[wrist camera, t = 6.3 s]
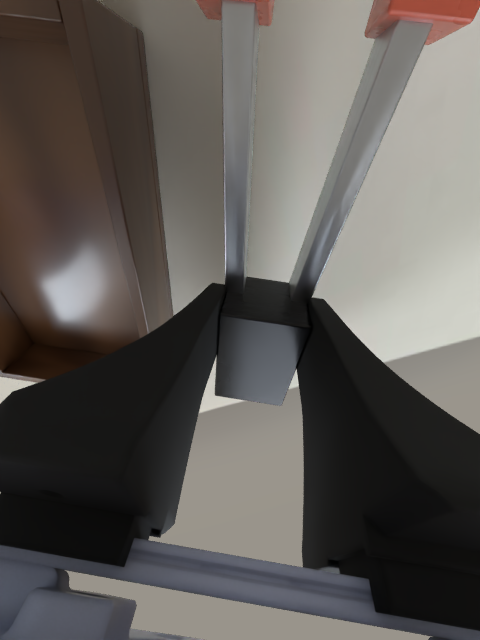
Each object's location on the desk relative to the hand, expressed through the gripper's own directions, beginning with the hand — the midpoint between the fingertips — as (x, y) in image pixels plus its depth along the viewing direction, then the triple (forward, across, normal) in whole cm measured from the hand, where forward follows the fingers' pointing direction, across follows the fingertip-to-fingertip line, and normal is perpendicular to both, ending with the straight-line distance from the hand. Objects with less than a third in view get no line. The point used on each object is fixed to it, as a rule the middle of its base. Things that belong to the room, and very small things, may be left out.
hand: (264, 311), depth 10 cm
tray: (+4, +12, +1) cm, 12 cm away
